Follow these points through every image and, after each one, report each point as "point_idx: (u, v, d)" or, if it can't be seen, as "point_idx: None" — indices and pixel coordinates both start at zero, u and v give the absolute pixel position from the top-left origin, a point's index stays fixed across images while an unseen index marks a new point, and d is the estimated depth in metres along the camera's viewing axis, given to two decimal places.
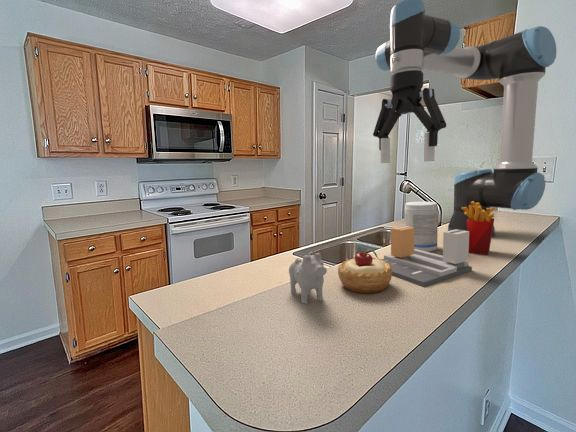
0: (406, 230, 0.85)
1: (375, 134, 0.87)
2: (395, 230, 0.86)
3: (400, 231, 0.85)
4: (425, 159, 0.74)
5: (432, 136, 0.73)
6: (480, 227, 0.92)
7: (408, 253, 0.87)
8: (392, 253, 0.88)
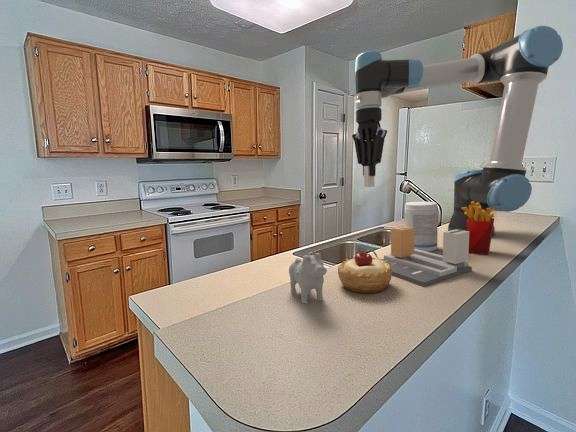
0: (406, 230, 0.85)
1: (359, 161, 1.01)
2: (395, 230, 0.86)
3: (400, 231, 0.85)
4: (367, 185, 0.99)
5: (371, 169, 0.98)
6: (480, 227, 0.92)
7: (408, 253, 0.87)
8: (392, 253, 0.88)
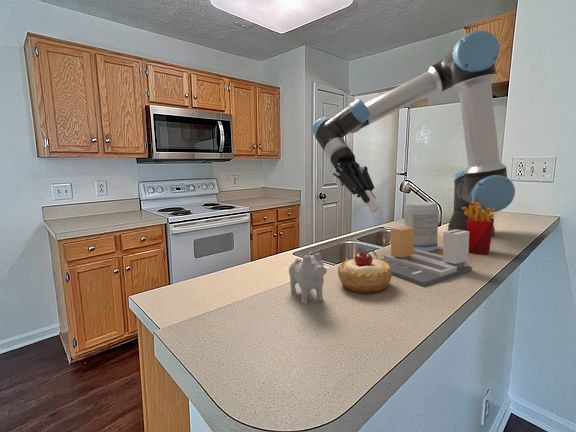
0: (406, 230, 0.85)
1: None
2: (395, 230, 0.86)
3: (400, 231, 0.85)
4: None
5: None
6: (480, 227, 0.92)
7: (408, 253, 0.87)
8: (392, 253, 0.88)
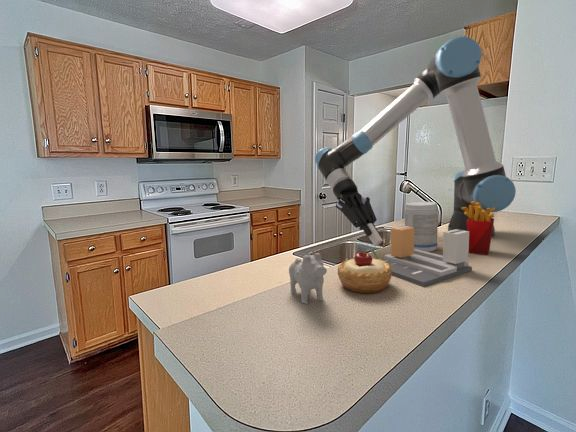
0: (406, 230, 0.85)
1: None
2: (395, 230, 0.86)
3: (400, 231, 0.85)
4: None
5: None
6: (480, 227, 0.92)
7: (408, 253, 0.87)
8: (392, 253, 0.88)
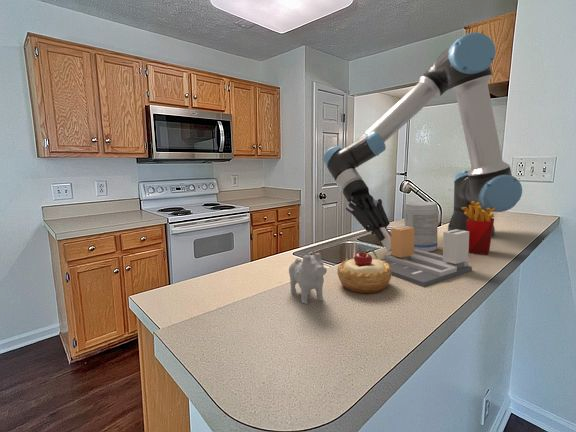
0: (406, 230, 0.85)
1: None
2: (395, 230, 0.86)
3: (400, 231, 0.84)
4: None
5: None
6: (480, 227, 0.92)
7: (408, 253, 0.87)
8: (392, 253, 0.88)
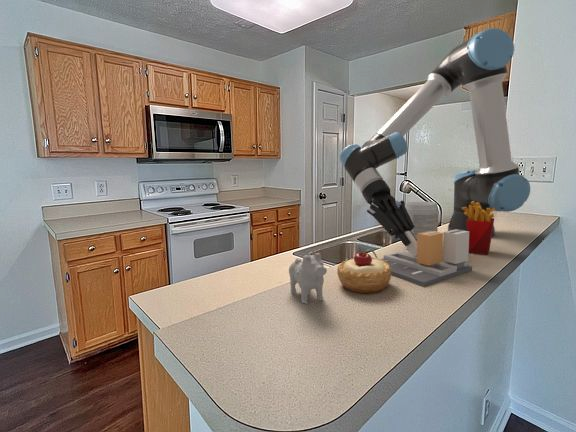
0: (434, 236, 0.78)
1: None
2: (422, 235, 0.78)
3: (428, 237, 0.77)
4: None
5: None
6: (480, 227, 0.92)
7: (436, 261, 0.79)
8: (418, 260, 0.80)
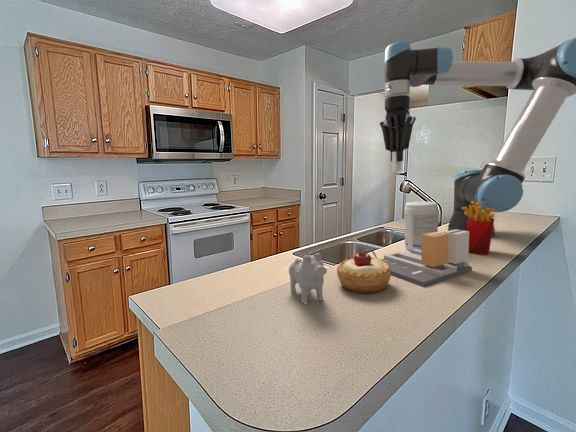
0: (439, 236, 0.77)
1: (387, 147, 1.06)
2: (427, 236, 0.77)
3: (433, 238, 0.76)
4: (394, 170, 1.05)
5: (399, 154, 1.03)
6: (480, 227, 0.92)
7: (441, 262, 0.78)
8: (423, 262, 0.79)
